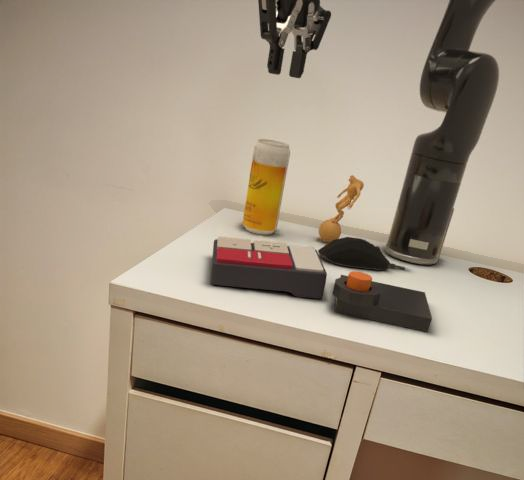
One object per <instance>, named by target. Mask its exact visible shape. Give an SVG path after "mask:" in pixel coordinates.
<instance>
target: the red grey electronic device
mask: <svg viewBox="0 0 524 480" xmlns="http://www.w3.org/2000/svg"><path fill="white" fill-rule="evenodd" d="M327 276H328V273H327V270H326V268H325V266H324V264H323V262H322V259H321V256H320V255H319V252H318V249H315V247H314V246H304V245H294V244H289V245H287V243H286V242H279V241H269V240H268V241H266V240H258V239H256V240H255V239H254V240H253V242H252V241H251V239H248V238H247V239H246V238H236V237H227V236H226V237H225V236H218V237H217V238H216V239H214V240H213V246H212V259H211V273H210V284H211V285H213V286H220V287H231V288H232V287H233V288H243V289H244V288H245V289H255V290H266V291H277V292H287V293H290V294H292V295H293V296H294V297H296V298H309V299H320V300H321V299H323V298H324V293H325V288H326V281H327Z"/></svg>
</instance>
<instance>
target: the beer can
mask: <svg viewBox="0 0 524 480" xmlns="http://www.w3.org/2000/svg"><path fill="white" fill-rule="evenodd" d="M290 157H291V150H290V145H289V144H288V143H287V142H286V143H285V142H282V141H278V140H273V139H265V138H258V139H257V142H256V143H255V144H254V147H253V154H252V159H251V160H252V161H251V165H250V171H249V172H250V173H249V180H248V185H247V192H246V198H245V205H244V212H243V219H242V225H243V227H244V229H245V230H246V231H248V232H249V233H252V234H257V235H263V236H264V235H265V236H266V235H267V236H268V235H269V236H270V235H272V234H273V233H274V232H276V231H277V229H278V222H279V217H280V211H281V208H282V207H281V206H282V201H283V196H284V190H285V185H286V180H287V179H286V178H287V174H288V168H289V163H290Z"/></svg>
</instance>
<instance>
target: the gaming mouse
mask: <svg viewBox="0 0 524 480" xmlns="http://www.w3.org/2000/svg"><path fill="white" fill-rule="evenodd" d="M317 252H318V255H319V257H320V258H322V259H324V260H327V262H330V263H332V264H334V265H338V266H341V267H349V268H357V269H358V268H359V269H365V270H366V269H367V270H375V271H383V270H387V269H388V268H389V267H390V268H393V269H394V268H396V269H400V270H405V269H406V267H405V266H401V265H397V264H396V263H394V262H393V263H391V262H390V260H388V258H387V257H386V256H385V254H384V253H383V252H382V251H381V247H380V246H378V245H375V244H373V243H372V242H370V241H368V240H366V239H363V238H358V237H351V236H345V237H339V238H338V239H335V240H333V241H331V242H327V243H326V244H325V245H323V246H322V247H321V248H319V249H317Z"/></svg>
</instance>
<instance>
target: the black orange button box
mask: <svg viewBox="0 0 524 480" xmlns="http://www.w3.org/2000/svg"><path fill="white" fill-rule="evenodd" d="M347 279H348V275H344V274H340V277H338V278H335V280H334V284H333V288H332V289H333V290H332V296H334V297H335V298H336V299H335V306H334V313H339V314H343V315H347V316H352V317H356V318H361V319H365V320H370V321H375V322H380V323H383V324H389V325H393V326H397V327H398V326H399V327H403V328H407V329H412V330H416V331H421V332H425V333H428V332H429V330H430V326H431V323H432V322H433V321H432V320H433V317H432V313H431V310H430V307H429V302H428V299H427V294H426V292H425V291H420V290H416V289H412V288H408V287H407V288H406V287H402V286H397V285H393V284H387V283H382V282H378V281H373V280H372V282H371V285H370V289H369V291H359V290H354V289H352V288H349V287H347V286H346V283H347Z"/></svg>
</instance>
